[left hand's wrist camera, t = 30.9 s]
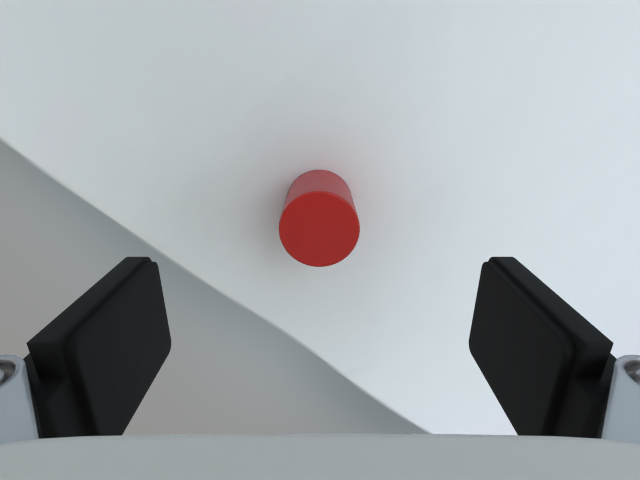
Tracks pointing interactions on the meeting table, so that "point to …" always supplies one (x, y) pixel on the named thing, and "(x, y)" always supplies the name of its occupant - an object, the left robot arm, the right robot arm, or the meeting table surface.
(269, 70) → the meeting table surface
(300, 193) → the red cylinder
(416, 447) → the left robot arm
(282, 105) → the meeting table surface
